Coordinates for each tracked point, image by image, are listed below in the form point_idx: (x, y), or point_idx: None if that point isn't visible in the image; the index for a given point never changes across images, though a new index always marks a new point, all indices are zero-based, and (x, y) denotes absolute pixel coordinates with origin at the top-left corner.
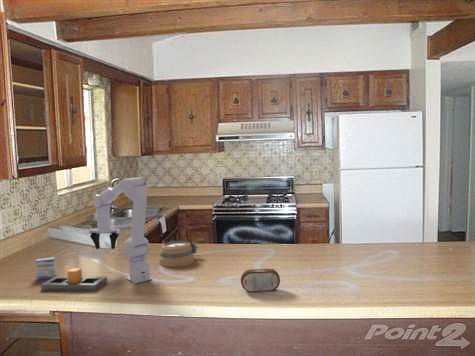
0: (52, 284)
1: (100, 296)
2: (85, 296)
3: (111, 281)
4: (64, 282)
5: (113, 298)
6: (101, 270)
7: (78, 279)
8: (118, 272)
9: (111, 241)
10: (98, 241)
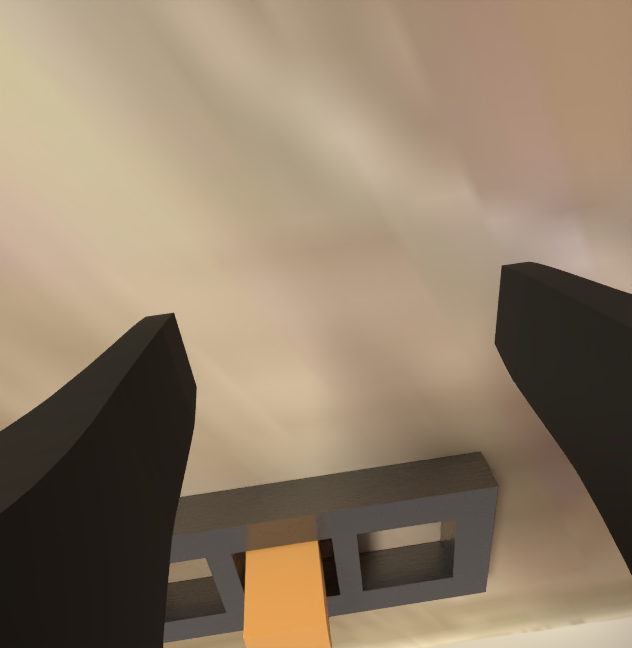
0: (190, 636)
1: (531, 588)
2: (450, 602)
3: (502, 427)
4: (243, 605)
5: (609, 588)
6: (235, 203)
7: (323, 580)
8: (471, 233)
9: (609, 490)
10: (134, 430)
